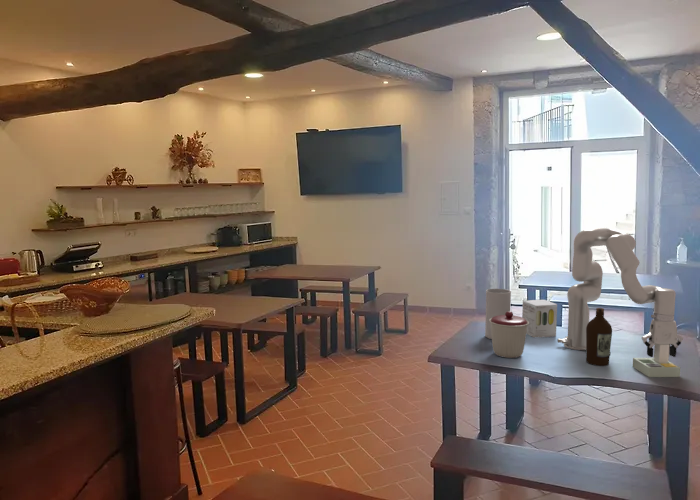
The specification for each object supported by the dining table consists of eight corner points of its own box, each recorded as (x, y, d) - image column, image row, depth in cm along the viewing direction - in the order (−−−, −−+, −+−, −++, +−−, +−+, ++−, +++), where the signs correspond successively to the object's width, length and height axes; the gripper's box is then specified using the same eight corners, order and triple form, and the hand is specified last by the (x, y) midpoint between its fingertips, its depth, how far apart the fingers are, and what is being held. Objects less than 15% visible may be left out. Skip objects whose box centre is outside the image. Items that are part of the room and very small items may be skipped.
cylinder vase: (512, 340, 278) (513, 293, 275) (488, 340, 278) (489, 293, 275) (505, 333, 291) (507, 288, 288) (482, 334, 291) (483, 288, 288)
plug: (658, 371, 230) (660, 340, 229) (653, 368, 234) (655, 337, 233) (667, 371, 230) (669, 340, 229) (662, 368, 234) (664, 337, 233)
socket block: (648, 377, 224) (649, 367, 224) (632, 366, 237) (633, 357, 237) (679, 376, 224) (680, 366, 224) (661, 366, 237) (662, 357, 237)
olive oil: (579, 359, 247) (582, 306, 244) (599, 358, 249) (602, 305, 246) (595, 367, 236) (597, 311, 233) (615, 365, 239) (618, 310, 236)
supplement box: (534, 338, 283) (535, 305, 281) (521, 331, 295) (522, 300, 293) (556, 336, 285) (558, 304, 283) (543, 330, 298) (544, 299, 296)
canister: (486, 358, 249) (487, 314, 247) (490, 347, 266) (491, 306, 264) (527, 362, 243) (528, 317, 241) (528, 351, 260) (530, 308, 258)
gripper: (648, 319, 226) (645, 359, 228) (689, 319, 226) (686, 358, 228) (638, 315, 233) (636, 353, 235) (678, 315, 233) (676, 353, 235)
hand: (661, 356), depth 232 cm, fingers open, 9 cm apart
